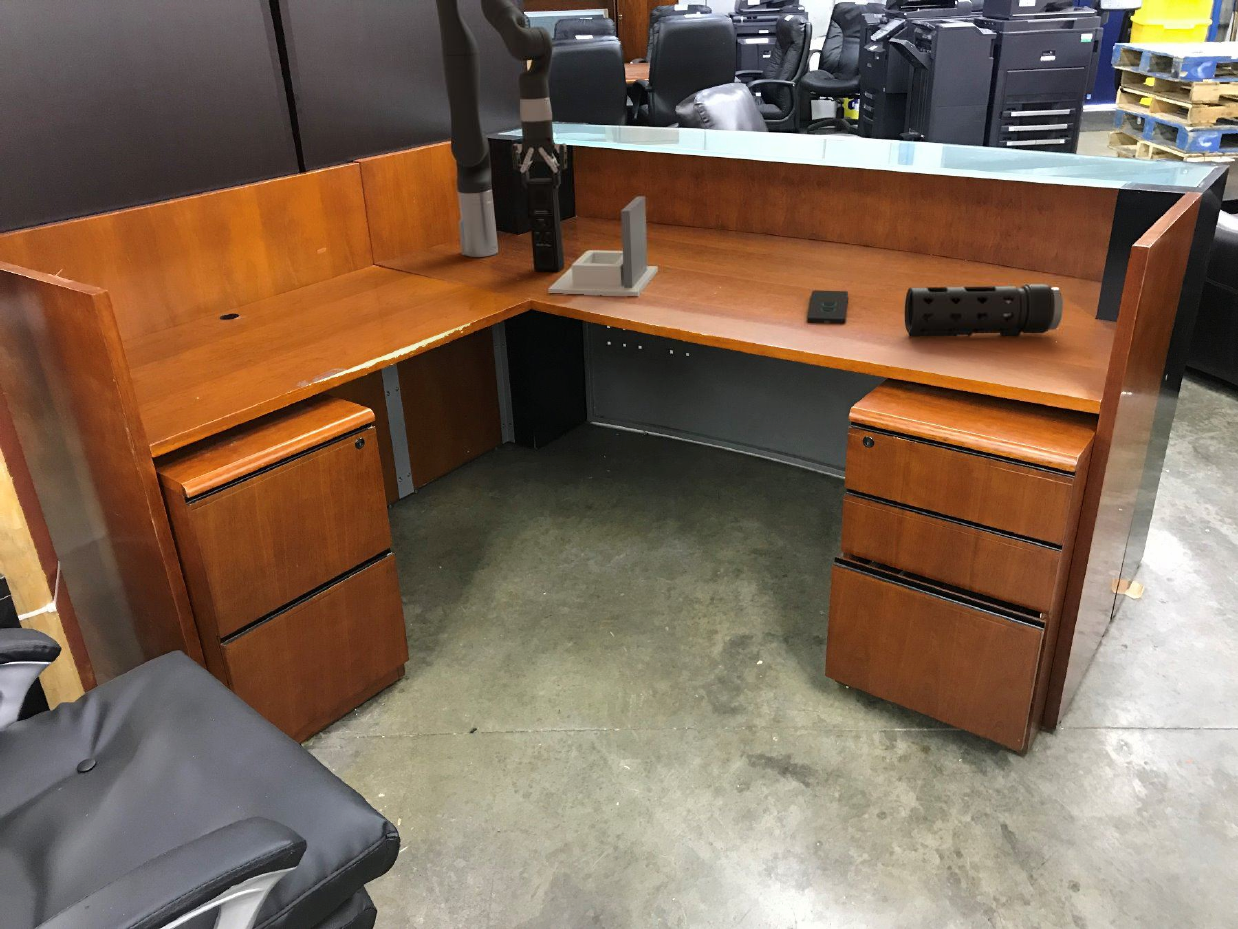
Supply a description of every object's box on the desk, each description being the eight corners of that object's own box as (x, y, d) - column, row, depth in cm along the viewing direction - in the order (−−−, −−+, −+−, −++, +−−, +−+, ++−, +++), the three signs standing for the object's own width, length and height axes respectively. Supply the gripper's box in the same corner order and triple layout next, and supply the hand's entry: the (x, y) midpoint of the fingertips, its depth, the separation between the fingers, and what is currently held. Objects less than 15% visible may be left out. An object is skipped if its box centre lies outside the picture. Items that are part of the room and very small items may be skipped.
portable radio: (529, 271, 248) (519, 172, 236) (538, 265, 253) (528, 167, 241) (558, 272, 245) (549, 172, 234) (566, 266, 250) (557, 167, 239)
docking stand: (548, 293, 229) (542, 212, 221) (574, 268, 248) (569, 193, 239) (637, 296, 224) (635, 213, 215) (657, 270, 243) (655, 193, 234)
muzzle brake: (902, 329, 197) (906, 280, 192) (1043, 327, 194) (1052, 277, 189) (910, 345, 188) (915, 294, 184) (1058, 344, 185) (1067, 292, 181)
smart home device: (806, 317, 202) (811, 289, 219) (805, 324, 203) (811, 296, 220) (846, 318, 200) (848, 290, 217) (845, 326, 201) (848, 297, 218)
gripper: (503, 120, 231) (509, 190, 238) (559, 119, 227) (564, 190, 235) (513, 116, 237) (519, 184, 244) (569, 115, 234) (573, 184, 241)
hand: (541, 187), depth 239 cm, fingers closed on portable radio, 7 cm apart
